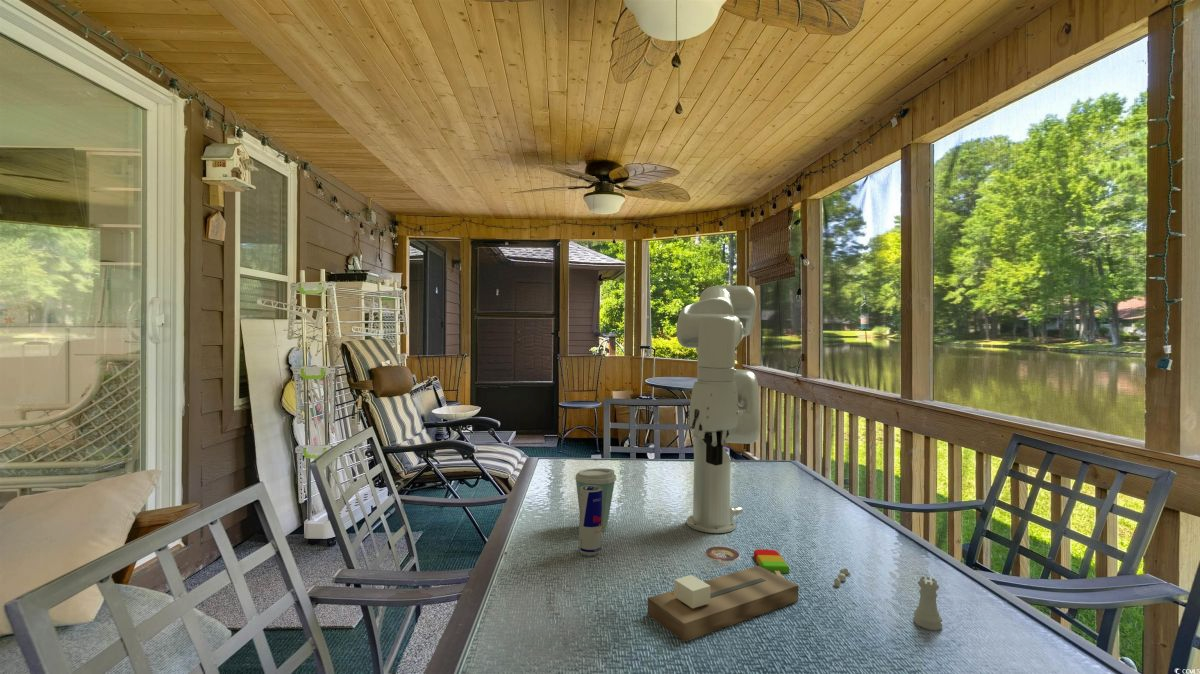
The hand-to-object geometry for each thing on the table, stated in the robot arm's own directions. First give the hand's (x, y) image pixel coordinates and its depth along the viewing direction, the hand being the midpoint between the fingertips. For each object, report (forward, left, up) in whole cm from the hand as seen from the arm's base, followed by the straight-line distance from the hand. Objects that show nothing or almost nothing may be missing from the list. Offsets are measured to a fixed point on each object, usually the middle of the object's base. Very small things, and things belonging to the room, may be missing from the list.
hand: (714, 463), depth 114 cm
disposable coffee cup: (+7, -36, -24) cm, 44 cm away
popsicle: (-15, +4, -24) cm, 29 cm away
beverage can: (+16, -23, -24) cm, 37 cm away
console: (+7, +11, -24) cm, 27 cm away
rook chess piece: (-20, +33, -24) cm, 45 cm away
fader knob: (+15, +11, -20) cm, 27 cm away
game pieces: (-23, +14, -24) cm, 36 cm away
